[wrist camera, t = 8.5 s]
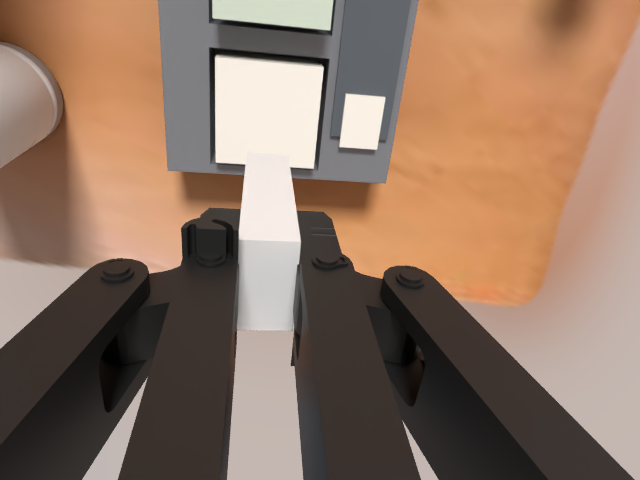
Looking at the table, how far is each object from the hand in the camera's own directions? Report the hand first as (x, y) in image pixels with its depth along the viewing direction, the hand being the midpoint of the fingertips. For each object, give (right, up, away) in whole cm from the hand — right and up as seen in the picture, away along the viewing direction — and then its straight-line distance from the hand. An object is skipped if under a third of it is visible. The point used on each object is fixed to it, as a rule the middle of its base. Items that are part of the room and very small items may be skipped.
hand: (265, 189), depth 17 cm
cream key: (-1, +7, +13) cm, 15 cm away
